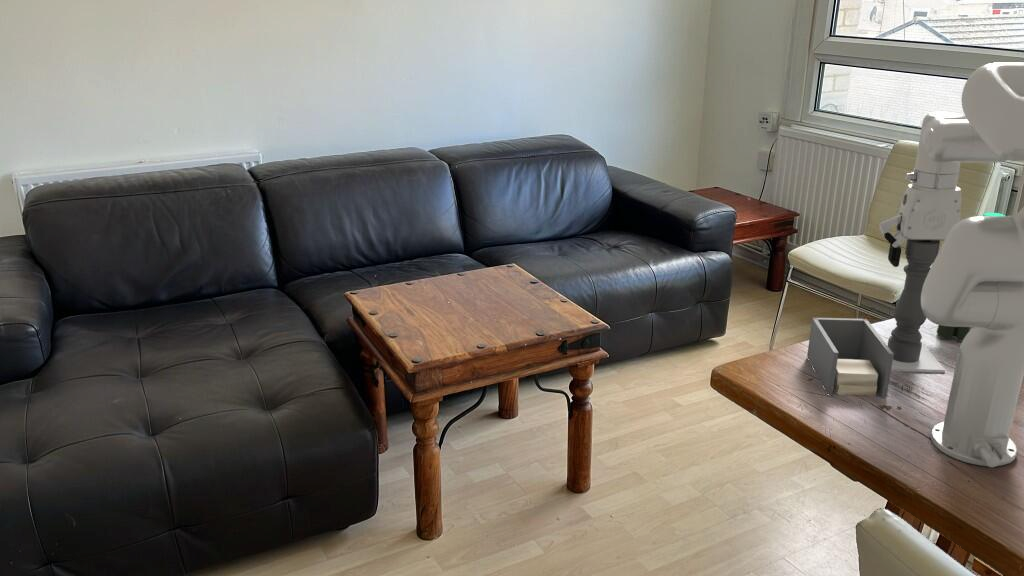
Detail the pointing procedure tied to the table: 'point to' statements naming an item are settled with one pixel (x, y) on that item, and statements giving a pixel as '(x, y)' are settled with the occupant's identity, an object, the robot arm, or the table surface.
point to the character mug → (952, 332)
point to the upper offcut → (855, 373)
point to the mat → (919, 363)
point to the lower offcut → (855, 389)
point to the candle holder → (912, 301)
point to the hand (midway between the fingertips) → (919, 265)
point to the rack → (847, 349)
